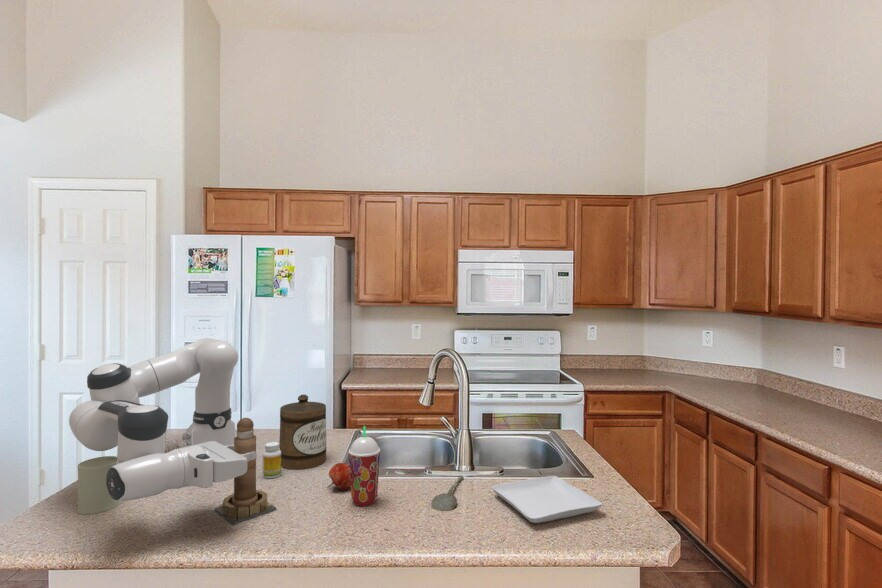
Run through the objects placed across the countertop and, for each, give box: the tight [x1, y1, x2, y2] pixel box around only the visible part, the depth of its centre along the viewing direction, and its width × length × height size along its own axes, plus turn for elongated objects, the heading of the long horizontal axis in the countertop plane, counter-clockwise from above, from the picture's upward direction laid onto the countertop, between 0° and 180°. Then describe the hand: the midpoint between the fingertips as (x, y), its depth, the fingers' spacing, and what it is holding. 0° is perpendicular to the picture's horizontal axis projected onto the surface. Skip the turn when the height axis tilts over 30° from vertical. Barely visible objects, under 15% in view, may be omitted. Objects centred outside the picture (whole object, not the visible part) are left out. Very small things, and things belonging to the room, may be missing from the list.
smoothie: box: [348, 425, 381, 507], centre depth 128 cm, size 8×8×20 cm
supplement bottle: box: [262, 441, 282, 479], centre depth 146 cm, size 5×5×10 cm
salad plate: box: [491, 475, 603, 524], centre depth 126 cm, size 21×21×3 cm
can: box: [76, 455, 122, 515], centre depth 125 cm, size 9×9×12 cm
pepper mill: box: [232, 417, 258, 506], centre depth 123 cm, size 6×6×23 cm
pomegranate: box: [327, 462, 351, 491], centre depth 137 cm, size 7×7×10 cm
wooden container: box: [278, 394, 327, 470], centre depth 158 cm, size 15×15×22 cm
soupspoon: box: [431, 475, 465, 512], centre depth 133 cm, size 22×3×7 cm
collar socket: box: [214, 489, 277, 526], centre depth 123 cm, size 11×11×3 cm
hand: (248, 451), depth 123 cm, fingers open, 6 cm apart
